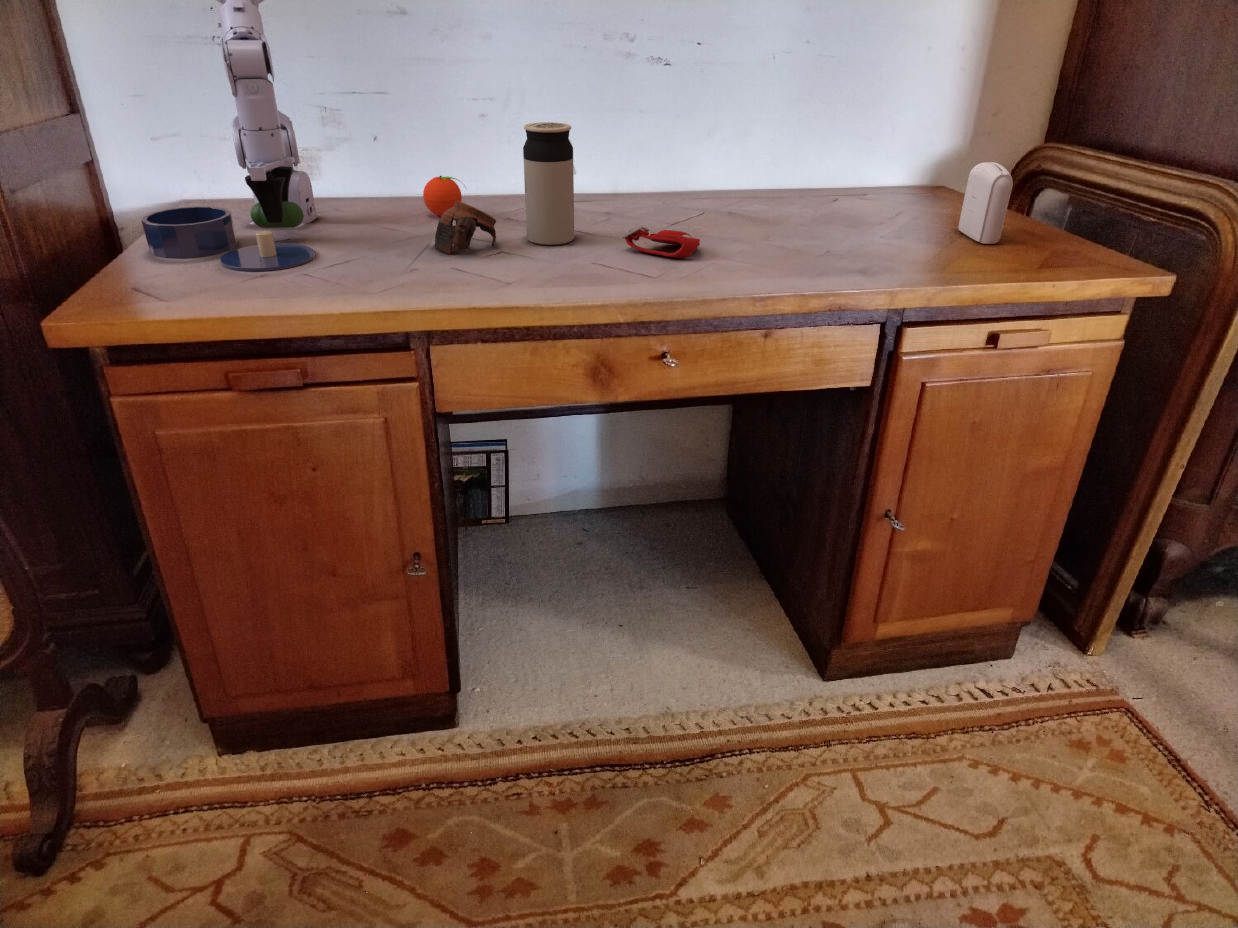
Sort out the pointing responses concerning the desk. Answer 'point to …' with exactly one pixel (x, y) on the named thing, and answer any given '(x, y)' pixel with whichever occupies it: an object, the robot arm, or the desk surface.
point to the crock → (189, 232)
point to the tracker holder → (664, 241)
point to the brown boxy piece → (462, 227)
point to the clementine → (441, 194)
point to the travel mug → (549, 183)
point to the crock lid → (267, 255)
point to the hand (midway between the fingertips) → (277, 218)
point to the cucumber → (290, 217)
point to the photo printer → (986, 202)
